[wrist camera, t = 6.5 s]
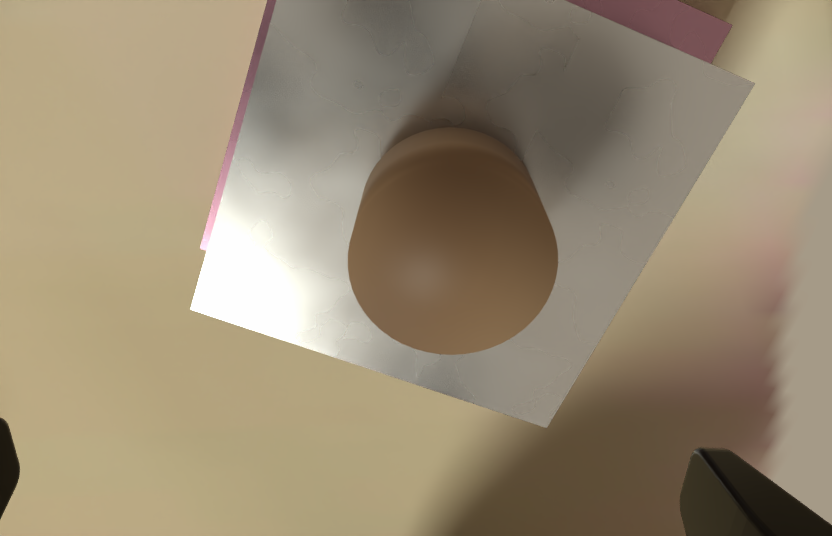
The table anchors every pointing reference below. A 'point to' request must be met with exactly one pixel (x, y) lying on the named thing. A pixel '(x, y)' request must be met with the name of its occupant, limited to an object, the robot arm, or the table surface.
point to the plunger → (451, 243)
